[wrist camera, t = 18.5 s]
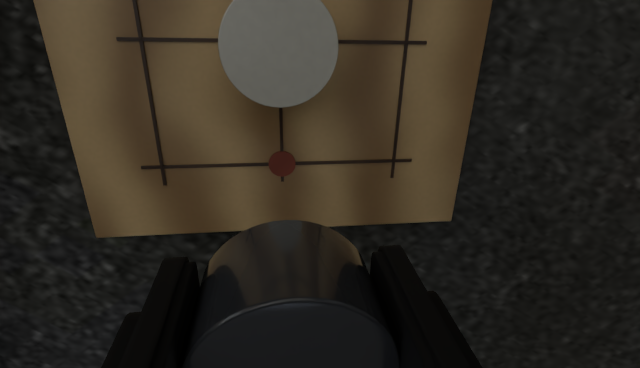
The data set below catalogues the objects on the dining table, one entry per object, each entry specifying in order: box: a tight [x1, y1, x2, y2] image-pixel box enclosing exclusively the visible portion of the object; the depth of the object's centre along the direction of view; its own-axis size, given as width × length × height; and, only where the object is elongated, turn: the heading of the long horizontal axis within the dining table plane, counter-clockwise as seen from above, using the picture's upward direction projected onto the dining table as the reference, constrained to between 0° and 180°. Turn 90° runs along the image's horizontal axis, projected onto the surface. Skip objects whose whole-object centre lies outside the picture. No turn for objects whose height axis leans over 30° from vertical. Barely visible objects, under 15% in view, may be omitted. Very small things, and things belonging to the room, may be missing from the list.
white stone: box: [218, 0, 339, 108], centre depth 16 cm, size 5×5×3 cm
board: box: [33, 0, 492, 238], centre depth 18 cm, size 20×20×1 cm
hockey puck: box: [181, 220, 400, 368], centre depth 9 cm, size 5×5×3 cm
